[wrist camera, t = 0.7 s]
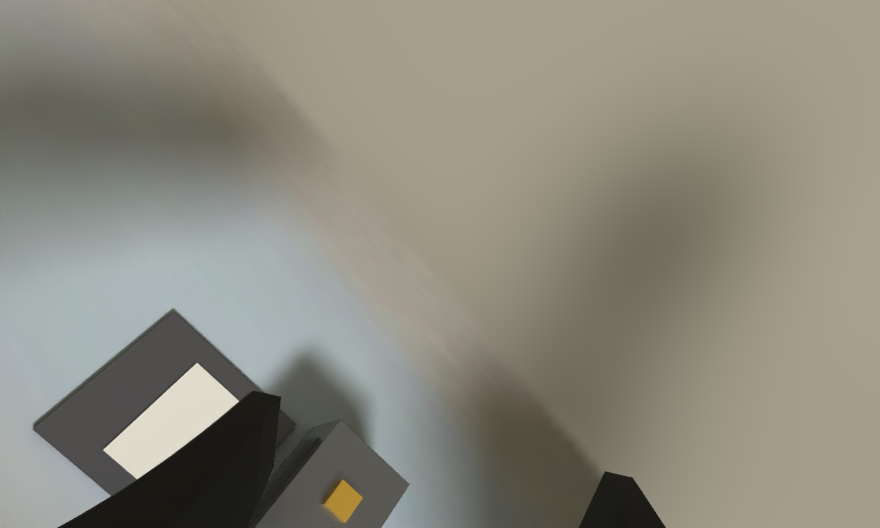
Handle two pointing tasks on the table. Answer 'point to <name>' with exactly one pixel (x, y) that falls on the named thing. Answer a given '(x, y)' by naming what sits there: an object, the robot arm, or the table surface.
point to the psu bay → (330, 484)
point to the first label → (147, 406)
